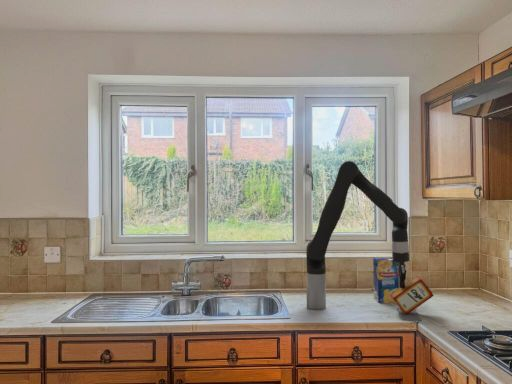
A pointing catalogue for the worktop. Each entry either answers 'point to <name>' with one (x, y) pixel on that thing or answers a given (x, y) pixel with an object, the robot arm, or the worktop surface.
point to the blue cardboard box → (385, 279)
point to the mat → (409, 315)
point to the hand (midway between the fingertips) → (402, 287)
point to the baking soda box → (411, 295)
